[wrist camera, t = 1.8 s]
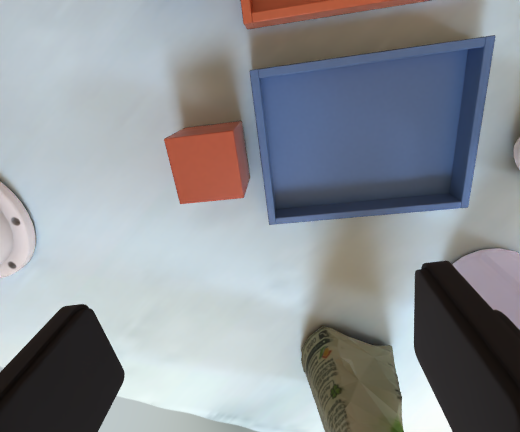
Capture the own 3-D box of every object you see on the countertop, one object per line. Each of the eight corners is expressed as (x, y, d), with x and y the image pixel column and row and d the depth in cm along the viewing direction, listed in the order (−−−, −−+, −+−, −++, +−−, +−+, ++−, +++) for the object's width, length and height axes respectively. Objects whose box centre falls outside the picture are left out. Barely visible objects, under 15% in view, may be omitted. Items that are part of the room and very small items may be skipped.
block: (196, 183, 28) (179, 204, 24) (183, 127, 26) (163, 138, 22) (250, 178, 28) (244, 198, 23) (241, 120, 26) (233, 130, 21)
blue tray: (270, 213, 29) (269, 225, 27) (252, 70, 24) (249, 70, 22) (452, 196, 27) (468, 207, 25) (474, 39, 22) (496, 34, 20)
